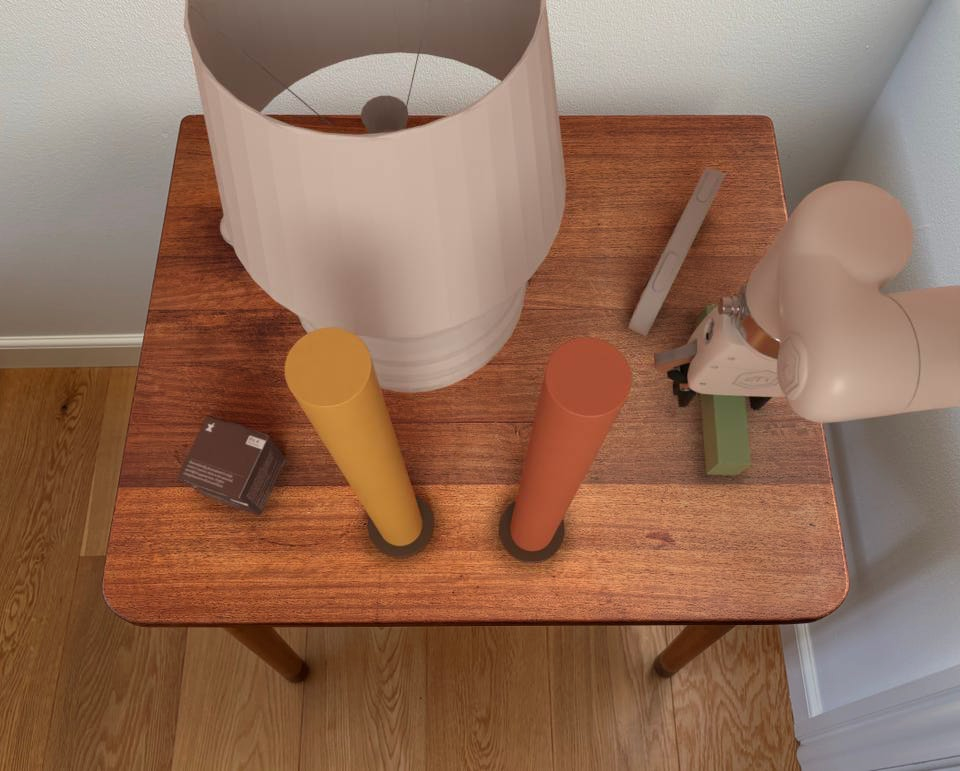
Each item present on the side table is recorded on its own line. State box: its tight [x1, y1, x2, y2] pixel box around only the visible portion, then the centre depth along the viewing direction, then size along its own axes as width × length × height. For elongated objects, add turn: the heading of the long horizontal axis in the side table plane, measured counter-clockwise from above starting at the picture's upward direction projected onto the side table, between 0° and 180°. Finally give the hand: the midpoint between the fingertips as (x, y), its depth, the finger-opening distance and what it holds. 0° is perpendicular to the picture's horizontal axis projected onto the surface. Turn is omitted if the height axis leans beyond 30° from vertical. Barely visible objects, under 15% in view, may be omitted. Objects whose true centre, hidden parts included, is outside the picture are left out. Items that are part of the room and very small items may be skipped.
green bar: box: [694, 304, 752, 476], centre depth 74 cm, size 3×16×4 cm, turn 178°
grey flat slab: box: [627, 166, 726, 337], centre depth 77 cm, size 20×2×8 cm, turn 152°
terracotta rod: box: [498, 336, 633, 565], centre depth 53 cm, size 6×6×38 cm
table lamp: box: [183, 0, 567, 394], centre depth 60 cm, size 25×25×40 cm
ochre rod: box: [284, 327, 435, 559], centre depth 53 cm, size 6×6×38 cm
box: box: [176, 414, 287, 517], centre depth 69 cm, size 6×6×7 cm
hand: (717, 393), depth 75 cm, fingers open, 6 cm apart
